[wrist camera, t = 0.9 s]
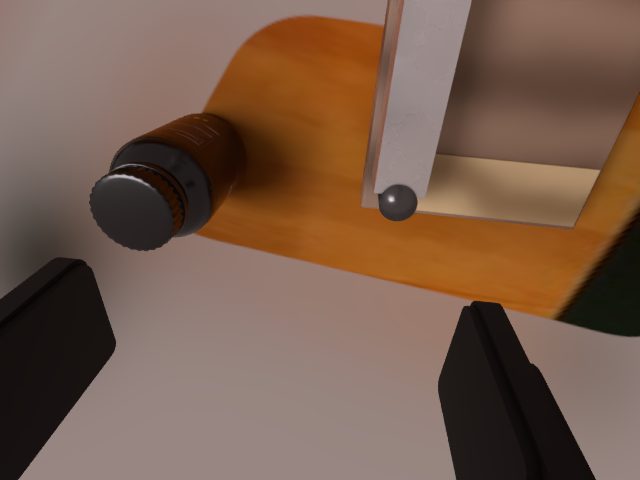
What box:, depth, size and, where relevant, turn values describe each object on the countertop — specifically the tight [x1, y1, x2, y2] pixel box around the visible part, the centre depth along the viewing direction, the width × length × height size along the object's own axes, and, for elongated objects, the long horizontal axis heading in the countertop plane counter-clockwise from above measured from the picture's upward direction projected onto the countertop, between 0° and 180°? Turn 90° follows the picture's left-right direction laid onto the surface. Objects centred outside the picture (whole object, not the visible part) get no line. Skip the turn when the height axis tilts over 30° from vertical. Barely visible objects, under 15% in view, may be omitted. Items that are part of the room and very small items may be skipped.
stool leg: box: [372, 0, 472, 221], centre depth 21 cm, size 16×3×4 cm, turn 176°
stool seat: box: [361, 0, 640, 229], centre depth 24 cm, size 20×16×3 cm
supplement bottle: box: [89, 113, 246, 251], centre depth 25 cm, size 7×7×12 cm
